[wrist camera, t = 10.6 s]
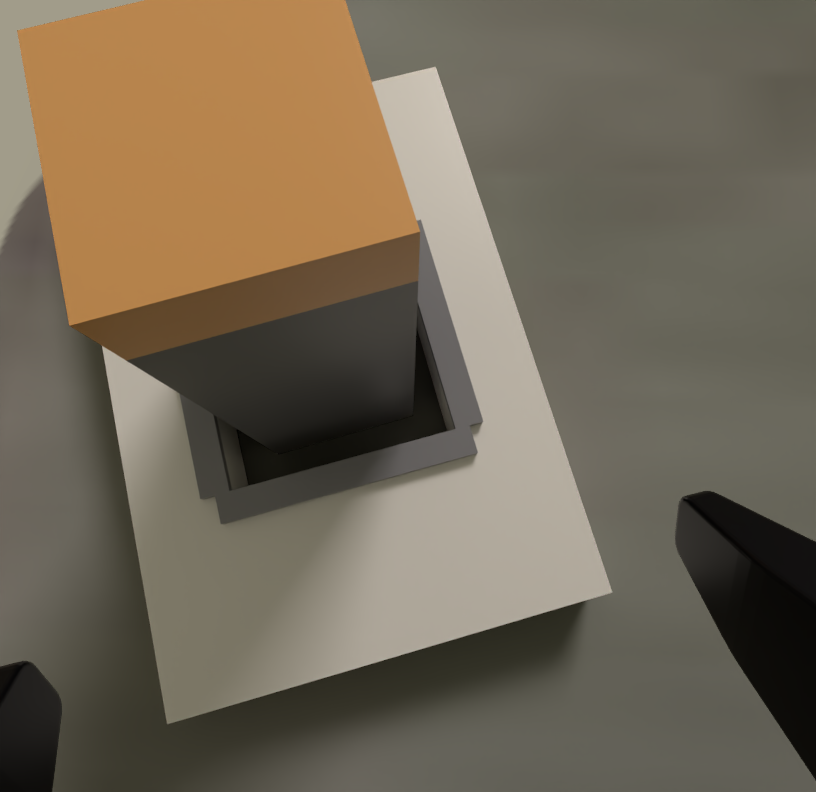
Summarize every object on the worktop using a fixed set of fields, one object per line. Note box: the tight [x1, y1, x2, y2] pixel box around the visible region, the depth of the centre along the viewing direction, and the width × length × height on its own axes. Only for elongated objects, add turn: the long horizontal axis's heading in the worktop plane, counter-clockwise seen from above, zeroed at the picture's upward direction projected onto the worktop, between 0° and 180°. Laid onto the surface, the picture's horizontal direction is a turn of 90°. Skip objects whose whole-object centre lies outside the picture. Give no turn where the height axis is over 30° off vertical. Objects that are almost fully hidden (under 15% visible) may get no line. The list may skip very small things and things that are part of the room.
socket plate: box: [102, 67, 612, 724], centre depth 18 cm, size 17×12×2 cm
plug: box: [17, 0, 420, 454], centre depth 14 cm, size 4×4×12 cm
